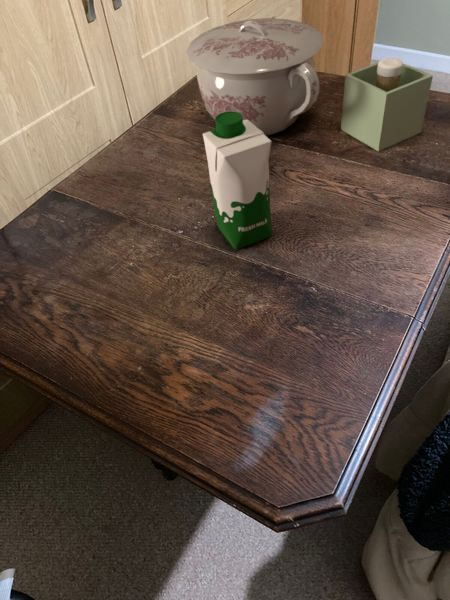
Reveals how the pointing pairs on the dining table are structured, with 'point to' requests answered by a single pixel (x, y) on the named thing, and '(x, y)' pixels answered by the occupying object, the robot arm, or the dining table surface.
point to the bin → (384, 106)
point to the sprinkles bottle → (389, 74)
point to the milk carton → (239, 179)
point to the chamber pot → (258, 70)
